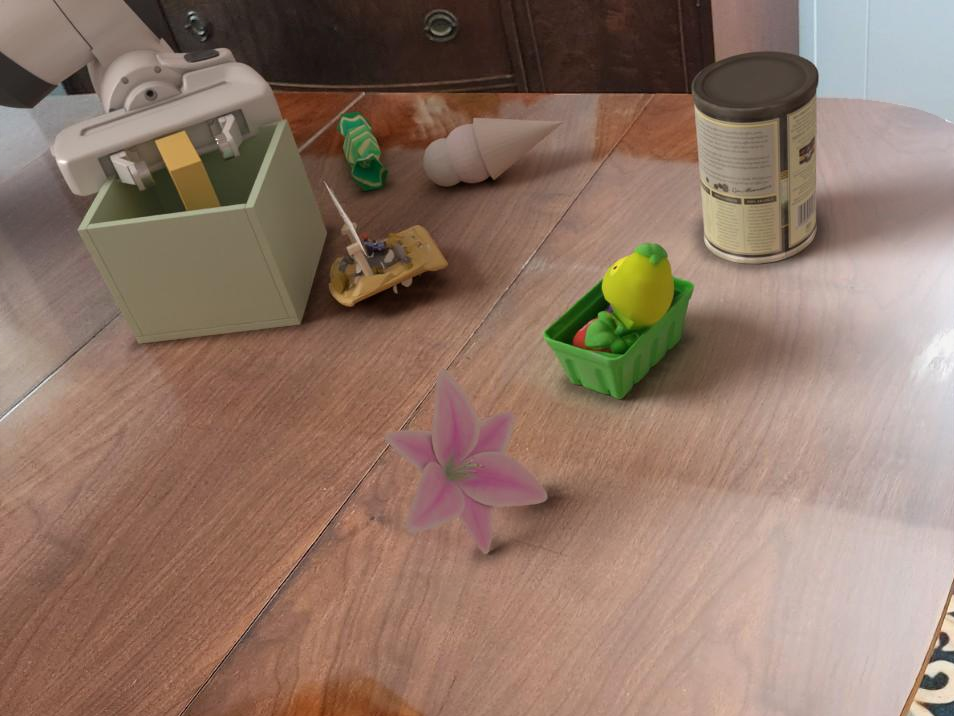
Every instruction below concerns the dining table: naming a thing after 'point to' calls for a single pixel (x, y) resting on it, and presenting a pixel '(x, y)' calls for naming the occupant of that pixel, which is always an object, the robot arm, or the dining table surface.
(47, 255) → the dining table surface
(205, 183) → the orange rectangular block
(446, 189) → the dining table surface
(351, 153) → the candy
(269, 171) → the waste bin
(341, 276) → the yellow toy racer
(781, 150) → the coffee can
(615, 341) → the fruit basket
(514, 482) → the lily
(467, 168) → the ice cream cone
